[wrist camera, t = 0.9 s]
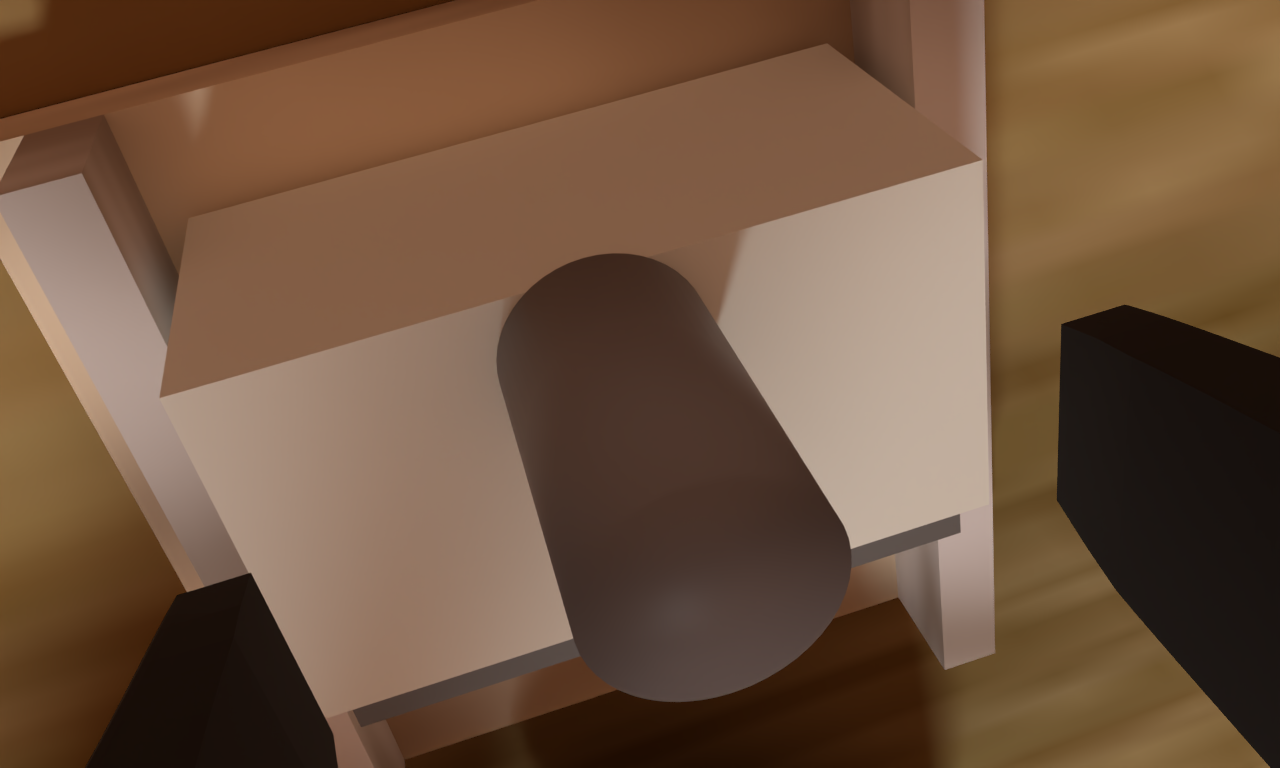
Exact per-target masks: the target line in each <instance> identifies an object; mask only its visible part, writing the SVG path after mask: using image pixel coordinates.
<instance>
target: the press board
mask: <svg viewBox="0 0 1280 768" xmlns="http://www.w3.org/2000/svg"><path fill="white" fill-rule="evenodd" d="M826 43H827V44H829V45H830V46H831V47H833V48H834V49H835V50H837V51H838V52H839V53H841V54H842V55H843V56H845V57H846V58H847V59H849V60H850V61H851V62H853V63H854V64H855V65H857V66H858V67H859V68H861V69H862V70H863V71H865V72H866V73H867V74H869V75H870V76H871V77H873V78H874V79H875V80H877V81H878V82H879V83H881V84H882V85H883V86H885V87H886V88H887V89H889V90H890V91H891V92H893V93H894V94H895V95H897V96H898V97H899V98H901V99H902V100H903V101H905V102H906V103H907V104H909V105H910V106H911V107H913V108H914V109H915V110H917V111H918V112H919V113H921V114H922V115H923V116H925V117H926V118H927V119H929V120H930V121H931V122H933V123H934V124H935V125H937V126H938V127H939V128H941V129H942V130H943V131H945V132H946V133H947V134H949V135H950V136H951V137H953V138H954V139H955V140H957V141H958V142H959V143H961V144H962V145H963V146H965V147H966V148H967V149H969V150H970V151H971V152H973V153H974V154H975V155H977V156H978V157H979V158H981V159H982V160H983V200H984V253H985V306H986V360H987V413H988V466H989V505H985V506H982V507H979V508H976V509H973V510H970V511H967V512H964V513H961V514H960V526H961V533H958V534H955V535H952V536H949V537H946V538H943V539H940V540H937V541H934V542H930V543H927V544H924V545H921V546H918V547H915V548H912V549H909V550H906V551H903V552H900V553H897V554H893V555H890V556H887V557H884V558H881V559H878V560H875V561H872V562H869V563H866V564H863V565H860V566H857V567H853V568H851V574H850V580H849V584H848V587H847V591H846V594H845V596H844V599H843V601H842V603H841V605H840V608H839V609H838V611H837V613H836V614H835V616H834V618H837V617H840V616H843V615H846V614H849V613H852V612H855V611H858V610H861V609H864V608H868V607H871V606H874V605H877V604H880V603H883V602H886V601H889V600H892V599H895V598H899V599H900V601H901V602H902V604H903V605H904V607H905V609H906V610H907V612H908V613H909V615H910V616H911V618H912V620H913V621H914V623H915V624H916V626H917V627H918V629H919V630H920V632H921V634H922V635H923V637H924V638H925V640H926V641H927V643H928V645H929V646H930V648H931V649H932V651H933V652H934V654H935V655H936V657H937V659H938V660H939V662H940V663H941V665H942V666H943V668H944V670H946V669H949V668H952V667H955V666H958V665H961V664H964V663H967V662H970V661H973V660H976V659H979V658H982V657H985V656H988V655H991V654H994V653H995V624H994V564H993V504H992V444H991V385H990V325H989V265H988V206H987V146H986V86H985V27H984V0H454V1H451V2H447V3H443V4H439V5H435V6H431V7H428V8H424V9H420V10H416V11H412V12H408V13H405V14H401V15H397V16H393V17H389V18H385V19H382V20H378V21H374V22H370V23H366V24H362V25H359V26H355V27H351V28H347V29H343V30H339V31H336V32H332V33H328V34H324V35H320V36H316V37H313V38H309V39H305V40H301V41H297V42H293V43H290V44H286V45H282V46H278V47H274V48H270V49H267V50H263V51H259V52H255V53H251V54H247V55H244V56H240V57H236V58H232V59H228V60H224V61H221V62H217V63H213V64H209V65H205V66H201V67H197V68H194V69H190V70H186V71H182V72H178V73H174V74H171V75H167V76H163V77H159V78H155V79H151V80H148V81H144V82H140V83H136V84H132V85H128V86H125V87H121V88H117V89H113V90H109V91H105V92H102V93H98V94H94V95H90V96H86V97H82V98H79V99H75V100H71V101H67V102H63V103H59V104H56V105H52V106H48V107H44V108H40V109H36V110H33V111H29V112H25V113H21V114H17V115H13V116H10V117H6V118H2V119H0V259H1V261H2V262H3V264H4V266H5V268H6V270H7V271H8V273H9V275H10V277H11V279H12V280H13V282H14V284H15V286H16V287H17V289H18V291H19V293H20V295H21V296H22V298H23V300H24V302H25V304H26V305H27V307H28V309H29V311H30V312H31V314H32V316H33V318H34V320H35V321H36V323H37V325H38V327H39V329H40V330H41V332H42V334H43V336H44V337H45V339H46V341H47V343H48V345H49V346H50V348H51V350H52V352H53V354H54V355H55V357H56V359H57V361H58V363H59V364H60V366H61V368H62V370H63V371H64V373H65V375H66V377H67V379H68V380H69V382H70V384H71V386H72V388H73V389H74V391H75V393H76V395H77V396H78V398H79V400H80V402H81V404H82V405H83V407H84V409H85V411H86V413H87V414H88V416H89V418H90V420H91V421H92V423H93V425H94V427H95V429H96V430H97V432H98V434H99V436H100V438H101V439H102V441H103V443H104V445H105V446H106V448H107V450H108V452H109V454H110V455H111V457H112V459H113V461H114V463H115V464H116V466H117V468H118V470H119V471H120V473H121V475H122V477H123V479H124V480H125V482H126V484H127V486H128V488H129V489H130V491H131V493H132V495H133V496H134V498H135V500H136V502H137V504H138V505H139V507H140V509H141V511H142V513H143V514H144V516H145V518H146V520H147V522H148V523H149V525H150V527H151V529H152V530H153V532H154V534H155V536H156V538H157V539H158V541H159V543H160V545H161V547H162V548H163V550H164V552H165V554H166V555H167V557H168V559H169V561H170V563H171V564H172V566H173V568H174V570H175V572H176V573H177V575H178V577H179V579H180V580H181V582H182V584H183V586H184V588H185V589H186V591H187V592H189V591H193V590H196V589H199V588H202V587H206V586H209V585H212V584H215V583H219V582H222V581H225V580H228V579H232V578H235V577H238V576H241V575H245V574H248V571H247V569H246V567H245V565H244V563H243V561H242V559H241V557H240V555H239V553H238V551H237V549H236V547H235V545H234V544H233V542H232V540H231V538H230V536H229V534H228V532H227V530H226V528H225V526H224V524H223V522H222V520H221V518H220V516H219V514H218V512H217V510H216V508H215V506H214V504H213V502H212V501H211V499H210V497H209V495H208V493H207V491H206V489H205V487H204V485H203V483H202V481H201V479H200V477H199V475H198V473H197V471H196V469H195V467H194V465H193V463H192V461H191V459H190V458H189V456H188V454H187V452H186V450H185V448H184V446H183V444H182V442H181V440H180V438H179V436H178V434H177V432H176V430H175V428H174V426H173V424H172V422H171V420H170V418H169V416H168V415H167V413H166V411H165V409H164V407H163V405H162V403H161V401H160V399H159V397H160V390H161V384H162V378H163V372H164V366H165V360H166V354H167V347H168V341H169V335H170V329H171V323H172V317H173V310H174V304H175V298H176V292H177V286H178V280H179V273H180V267H181V261H182V255H183V249H184V243H185V236H186V230H187V224H188V218H191V217H195V216H198V215H202V214H206V213H209V212H213V211H217V210H220V209H224V208H228V207H231V206H235V205H239V204H242V203H246V202H250V201H253V200H257V199H261V198H264V197H268V196H271V195H275V194H279V193H282V192H286V191H290V190H293V189H297V188H301V187H304V186H308V185H312V184H315V183H319V182H323V181H326V180H330V179H333V178H337V177H341V176H344V175H348V174H352V173H355V172H359V171H363V170H366V169H370V168H374V167H377V166H381V165H385V164H388V163H392V162H396V161H399V160H403V159H406V158H410V157H414V156H417V155H421V154H425V153H428V152H432V151H436V150H439V149H443V148H447V147H450V146H454V145H458V144H461V143H465V142H468V141H472V140H476V139H479V138H483V137H487V136H490V135H494V134H498V133H501V132H505V131H509V130H512V129H516V128H520V127H523V126H527V125H531V124H534V123H538V122H541V121H545V120H549V119H552V118H556V117H560V116H563V115H567V114H571V113H574V112H578V111H582V110H585V109H589V108H593V107H596V106H600V105H603V104H607V103H611V102H614V101H618V100H622V99H625V98H629V97H633V96H636V95H640V94H644V93H647V92H651V91H655V90H658V89H662V88H666V87H669V86H673V85H676V84H680V83H684V82H687V81H691V80H695V79H698V78H702V77H706V76H709V75H713V74H717V73H720V72H724V71H728V70H731V69H735V68H738V67H742V66H746V65H749V64H753V63H757V62H760V61H764V60H768V59H771V58H775V57H779V56H782V55H786V54H790V53H793V52H797V51H801V50H804V49H808V48H811V47H815V46H819V45H822V44H826ZM834 618H833V619H834ZM615 690H618V689H616V688H614V687H612V686H610V685H608V684H607V683H606V682H604V681H603V680H602V679H600V678H599V677H598V676H596V675H595V673H594V672H593V671H592V670H591V669H590V668H589V667H588V666H587V665H586V663H585V662H584V660H583V659H582V657H581V656H579V657H576V658H573V659H570V660H567V661H564V662H561V663H558V664H555V665H552V666H549V667H546V668H543V669H539V670H536V671H533V672H530V673H527V674H524V675H521V676H518V677H515V678H512V679H509V680H506V681H503V682H499V683H496V684H493V685H490V686H487V687H484V688H481V689H478V690H475V691H472V692H469V693H466V694H463V695H459V696H456V697H453V698H450V699H447V700H444V701H441V702H438V703H435V704H432V705H429V706H426V707H422V708H419V709H416V710H413V711H410V712H407V713H404V714H401V715H398V716H395V717H392V718H389V719H386V720H382V721H379V722H376V723H373V724H370V725H367V726H364V727H361V726H360V724H359V722H358V720H357V718H356V716H355V714H354V712H353V710H351V711H348V712H345V713H341V714H338V715H335V716H332V717H329V718H326V720H327V722H328V724H329V726H330V728H331V730H332V732H333V735H334V742H335V749H336V756H337V763H338V768H405V760H406V759H409V758H412V757H415V756H418V755H421V754H424V753H427V752H430V751H433V750H436V749H439V748H442V747H445V746H448V745H451V744H454V743H457V742H460V741H463V740H466V739H469V738H473V737H476V736H479V735H482V734H485V733H488V732H491V731H494V730H497V729H500V728H503V727H506V726H509V725H512V724H515V723H518V722H521V721H524V720H527V719H530V718H533V717H536V716H539V715H542V714H545V713H548V712H552V711H555V710H558V709H561V708H564V707H567V706H570V705H573V704H576V703H579V702H582V701H585V700H588V699H591V698H594V697H597V696H600V695H603V694H606V693H609V692H612V691H615Z"/></svg>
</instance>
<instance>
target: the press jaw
mask: <svg viewBox="0 0 1280 768" xmlns="http://www.w3.org/2000/svg"><path fill="white" fill-rule="evenodd" d="M159 399H160V401H161V403H162V405H163V407H164V409H165V411H166V413H167V415H168V416H169V418H170V420H171V422H172V424H173V426H174V428H175V430H176V432H177V434H178V436H179V438H180V440H181V442H182V444H183V446H184V448H185V450H186V452H187V454H188V456H189V458H190V459H191V461H192V463H193V465H194V467H195V469H196V471H197V473H198V475H199V477H200V479H201V481H202V483H203V485H204V487H205V489H206V491H207V493H208V495H209V497H210V499H211V501H212V502H213V504H214V506H215V508H216V510H217V512H218V514H219V516H220V518H221V520H222V522H223V524H224V526H225V528H226V530H227V532H228V534H229V536H230V538H231V540H232V542H233V544H234V545H235V547H236V549H237V551H238V553H239V555H240V557H241V559H242V561H243V563H244V565H245V567H246V569H247V571H248V573H251V574H252V576H253V578H254V580H255V582H256V584H257V585H258V587H259V589H260V591H261V593H262V595H263V597H264V599H265V601H266V603H267V605H268V607H269V609H270V611H271V613H272V615H273V617H274V619H275V621H276V623H277V625H278V627H279V629H280V630H281V632H282V634H283V636H284V638H285V640H286V642H287V644H288V646H289V648H290V650H291V652H292V654H293V656H294V658H295V660H296V662H297V664H298V666H299V668H300V670H301V672H302V673H303V675H304V677H305V679H306V681H307V683H308V685H309V687H310V689H311V691H312V693H313V695H314V697H315V699H316V701H317V703H318V705H319V707H320V709H321V711H322V713H323V715H324V716H325V718H329V717H332V716H335V715H338V714H341V713H345V712H348V711H351V710H353V712H354V714H355V716H356V718H357V720H358V722H359V724H360V726H361V727H364V726H367V725H370V724H373V723H376V722H379V721H382V720H386V719H389V718H392V717H395V716H398V715H401V714H404V713H407V712H410V711H413V710H416V709H419V708H422V707H426V706H429V705H432V704H435V703H438V702H441V701H444V700H447V699H450V698H453V697H456V696H459V695H463V694H466V693H469V692H472V691H475V690H478V689H481V688H484V687H487V686H490V685H493V684H496V683H499V682H503V681H506V680H509V679H512V678H515V677H518V676H521V675H524V674H527V673H530V672H533V671H536V670H539V669H543V668H546V667H549V666H552V665H555V664H558V663H561V662H564V661H567V660H570V659H573V658H576V657H579V656H581V657H582V659H583V660H584V662H585V663H586V665H587V666H588V667H589V668H590V669H591V670H592V671H593V672H594V673H595V675H596V676H598V677H599V678H600V679H602V680H603V681H604V682H606V683H607V684H608V685H610V686H612V687H614V688H616V689H618V690H620V691H622V692H624V693H627V694H630V695H632V696H635V697H640V698H644V699H648V700H655V701H664V702H688V701H698V700H705V699H710V698H715V697H719V696H723V695H726V694H730V693H733V692H736V691H739V690H741V689H744V688H747V687H749V686H752V685H754V684H756V683H758V682H760V681H762V680H764V679H766V678H768V677H770V676H771V675H773V674H775V673H776V672H778V671H780V670H781V669H783V668H784V667H786V666H787V665H788V664H790V663H791V662H793V661H794V660H795V659H797V658H798V657H799V656H800V655H801V654H802V653H804V652H805V651H806V650H807V649H808V648H809V647H810V646H811V645H812V644H813V643H814V642H815V641H816V640H817V639H818V638H819V637H820V636H821V634H822V633H823V632H824V630H825V629H826V628H827V627H828V625H829V624H830V623H831V621H832V619H833V618H834V616H835V614H836V613H837V611H838V609H839V608H840V605H841V603H842V601H843V599H844V596H845V594H846V591H847V587H848V584H849V580H850V574H851V568H853V567H857V566H860V565H863V564H866V563H869V562H872V561H875V560H878V559H881V558H884V557H887V556H890V555H893V554H897V553H900V552H903V551H906V550H909V549H912V548H915V547H918V546H921V545H924V544H927V543H930V542H934V541H937V540H940V539H943V538H946V537H949V536H952V535H955V534H958V533H961V526H960V514H961V513H964V512H967V511H970V510H973V509H976V508H979V507H982V506H985V505H989V466H988V413H987V360H986V306H985V253H984V200H983V160H982V159H981V158H979V157H978V156H977V155H975V154H974V153H973V152H971V151H970V150H969V149H967V148H966V147H965V146H963V145H962V144H961V143H959V142H958V141H957V140H955V139H954V138H953V137H951V136H950V135H949V134H947V133H946V132H945V131H943V130H942V129H941V128H939V127H938V126H937V125H935V124H934V123H933V122H931V121H930V120H929V119H927V118H926V117H925V116H923V115H922V114H921V113H919V112H918V111H917V110H915V109H914V108H913V107H911V106H910V105H909V104H907V103H906V102H905V101H903V100H902V99H901V98H899V97H898V96H897V95H895V94H894V93H893V92H891V91H890V90H889V89H887V88H886V87H885V86H883V85H882V84H881V83H879V82H878V81H877V80H875V79H874V78H873V77H871V76H870V75H869V74H867V73H866V72H865V71H863V70H862V69H861V68H859V67H858V66H857V65H855V64H854V63H853V62H851V61H850V60H849V59H847V58H846V57H845V56H843V55H842V54H841V53H839V52H838V51H837V50H835V49H834V48H833V47H831V46H830V45H829V44H827V43H826V44H822V45H819V46H815V47H811V48H808V49H804V50H801V51H797V52H793V53H790V54H786V55H782V56H779V57H775V58H771V59H768V60H764V61H760V62H757V63H753V64H749V65H746V66H742V67H738V68H735V69H731V70H728V71H724V72H720V73H717V74H713V75H709V76H706V77H702V78H698V79H695V80H691V81H687V82H684V83H680V84H676V85H673V86H669V87H666V88H662V89H658V90H655V91H651V92H647V93H644V94H640V95H636V96H633V97H629V98H625V99H622V100H618V101H614V102H611V103H607V104H603V105H600V106H596V107H593V108H589V109H585V110H582V111H578V112H574V113H571V114H567V115H563V116H560V117H556V118H552V119H549V120H545V121H541V122H538V123H534V124H531V125H527V126H523V127H520V128H516V129H512V130H509V131H505V132H501V133H498V134H494V135H490V136H487V137H483V138H479V139H476V140H472V141H468V142H465V143H461V144H458V145H454V146H450V147H447V148H443V149H439V150H436V151H432V152H428V153H425V154H421V155H417V156H414V157H410V158H406V159H403V160H399V161H396V162H392V163H388V164H385V165H381V166H377V167H374V168H370V169H366V170H363V171H359V172H355V173H352V174H348V175H344V176H341V177H337V178H333V179H330V180H326V181H323V182H319V183H315V184H312V185H308V186H304V187H301V188H297V189H293V190H290V191H286V192H282V193H279V194H275V195H271V196H268V197H264V198H261V199H257V200H253V201H250V202H246V203H242V204H239V205H235V206H231V207H228V208H224V209H220V210H217V211H213V212H209V213H206V214H202V215H198V216H195V217H191V218H188V224H187V230H186V236H185V243H184V249H183V255H182V261H181V267H180V273H179V280H178V286H177V292H176V298H175V304H174V310H173V317H172V323H171V329H170V335H169V341H168V347H167V354H166V360H165V366H164V372H163V378H162V384H161V390H160V397H159Z"/></svg>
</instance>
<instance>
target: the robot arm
mask: <svg viewBox="0 0 1280 768" xmlns="http://www.w3.org/2000/svg"><path fill="white" fill-rule="evenodd" d="M1057 501H1058V502H1059V504H1060V506H1061V507H1062V509H1063V510H1064V512H1065V514H1066V515H1067V517H1068V518H1069V520H1070V521H1071V523H1072V525H1073V526H1074V528H1075V529H1076V531H1077V532H1078V534H1079V536H1080V537H1081V539H1082V540H1083V542H1084V543H1085V545H1086V547H1087V548H1088V550H1089V551H1090V553H1091V554H1092V556H1093V557H1094V558H1095V560H1096V561H1097V563H1098V564H1099V566H1100V567H1101V569H1102V570H1103V572H1104V573H1105V575H1106V576H1107V577H1108V579H1109V580H1110V582H1111V583H1112V585H1113V586H1114V588H1115V589H1116V591H1117V592H1118V593H1119V594H1120V595H1121V597H1122V598H1123V599H1124V600H1125V601H1126V602H1127V604H1128V605H1129V606H1130V607H1131V608H1132V610H1133V611H1134V612H1135V613H1136V614H1137V615H1138V617H1139V618H1140V619H1141V620H1142V621H1143V622H1144V624H1145V625H1146V626H1147V627H1148V628H1149V629H1150V631H1151V632H1152V633H1153V634H1154V635H1155V636H1156V637H1157V639H1158V640H1159V641H1160V642H1161V643H1162V644H1163V646H1164V647H1165V648H1166V649H1167V650H1168V651H1169V653H1170V654H1171V655H1172V656H1173V657H1174V658H1175V660H1176V661H1177V662H1178V663H1179V664H1180V665H1181V666H1182V667H1183V669H1184V670H1185V671H1186V672H1187V673H1188V674H1189V675H1190V677H1191V678H1192V679H1193V680H1194V681H1195V682H1196V683H1197V685H1198V686H1199V687H1200V688H1201V689H1202V690H1203V691H1204V692H1205V694H1206V695H1207V696H1208V697H1209V698H1210V699H1211V700H1212V702H1213V703H1214V704H1215V705H1216V706H1217V707H1218V708H1219V710H1220V711H1221V712H1222V713H1223V714H1224V715H1225V716H1226V717H1227V719H1228V720H1229V721H1230V722H1231V723H1232V724H1233V725H1234V727H1235V728H1236V729H1237V730H1238V731H1239V732H1240V733H1241V735H1242V736H1243V737H1244V738H1245V739H1246V740H1247V741H1248V743H1249V744H1250V745H1251V746H1252V747H1253V748H1254V749H1255V750H1256V752H1257V753H1258V754H1259V755H1260V756H1261V757H1262V758H1263V760H1264V761H1265V762H1266V763H1267V764H1268V765H1269V766H1270V768H1280V358H1279V357H1276V356H1273V355H1271V354H1268V353H1265V352H1263V351H1260V350H1257V349H1254V348H1252V347H1249V346H1246V345H1243V344H1241V343H1238V342H1235V341H1232V340H1230V339H1227V338H1224V337H1221V336H1219V335H1216V334H1213V333H1210V332H1207V331H1205V330H1202V329H1199V328H1196V327H1193V326H1190V325H1188V324H1185V323H1182V322H1179V321H1176V320H1173V319H1170V318H1167V317H1164V316H1161V315H1158V314H1155V313H1152V312H1149V311H1145V310H1142V309H1138V308H1135V307H1132V306H1128V305H1122V306H1119V307H1116V308H1112V309H1109V310H1106V311H1103V312H1099V313H1096V314H1093V315H1090V316H1086V317H1083V318H1080V319H1077V320H1073V321H1070V322H1067V323H1063V324H1061V362H1060V400H1059V438H1058V476H1057ZM85 768H338V763H337V756H336V749H335V742H334V735H333V732H332V730H331V728H330V726H329V724H328V722H327V720H326V718H325V716H324V715H323V713H322V711H321V709H320V707H319V705H318V703H317V701H316V699H315V697H314V695H313V693H312V691H311V689H310V687H309V685H308V683H307V681H306V679H305V677H304V675H303V673H302V672H301V670H300V668H299V666H298V664H297V662H296V660H295V658H294V656H293V654H292V652H291V650H290V648H289V646H288V644H287V642H286V640H285V638H284V636H283V634H282V632H281V630H280V629H279V627H278V625H277V623H276V621H275V619H274V617H273V615H272V613H271V611H270V609H269V607H268V605H267V603H266V601H265V599H264V597H263V595H262V593H261V591H260V589H259V587H258V585H257V584H256V582H255V580H254V578H253V576H252V574H251V573H248V574H245V575H241V576H238V577H235V578H232V579H228V580H225V581H222V582H219V583H215V584H212V585H209V586H206V587H202V588H199V589H196V590H193V591H189V592H186V593H183V594H180V595H177V596H176V598H175V600H174V601H173V603H172V605H171V606H170V608H169V610H168V612H167V614H166V615H165V617H164V619H163V621H162V623H161V625H160V627H159V628H158V630H157V632H156V634H155V636H154V638H153V640H152V642H151V644H150V645H149V647H148V649H147V651H146V653H145V655H144V657H143V659H142V661H141V663H140V665H139V667H138V669H137V671H136V673H135V674H134V676H133V678H132V680H131V682H130V684H129V686H128V688H127V690H126V692H125V694H124V696H123V698H122V700H121V701H120V703H119V705H118V707H117V709H116V711H115V713H114V715H113V717H112V719H111V720H110V722H109V724H108V726H107V728H106V730H105V732H104V734H103V736H102V738H101V739H100V741H99V743H98V745H97V747H96V749H95V750H94V752H93V754H92V756H91V758H90V760H89V761H88V763H87V765H86V767H85Z"/></svg>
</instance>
